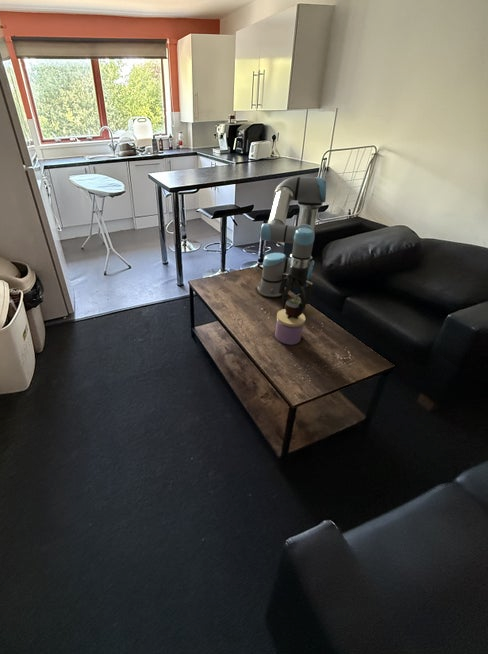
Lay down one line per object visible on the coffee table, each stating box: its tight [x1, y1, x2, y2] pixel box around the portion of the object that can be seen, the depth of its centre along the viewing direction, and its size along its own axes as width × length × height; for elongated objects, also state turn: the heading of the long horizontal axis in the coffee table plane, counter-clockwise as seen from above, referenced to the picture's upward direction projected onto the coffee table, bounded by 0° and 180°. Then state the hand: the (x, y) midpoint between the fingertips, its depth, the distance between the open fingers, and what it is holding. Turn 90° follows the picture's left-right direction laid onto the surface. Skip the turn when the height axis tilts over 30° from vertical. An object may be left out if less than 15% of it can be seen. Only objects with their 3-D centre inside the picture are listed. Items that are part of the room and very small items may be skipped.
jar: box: [274, 309, 306, 345], centre depth 148 cm, size 13×13×12 cm
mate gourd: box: [285, 293, 301, 319], centre depth 141 cm, size 8×8×15 cm
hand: (291, 311), depth 144 cm, fingers closed on mate gourd, 7 cm apart
